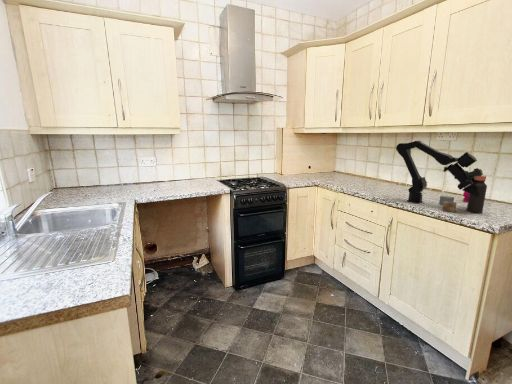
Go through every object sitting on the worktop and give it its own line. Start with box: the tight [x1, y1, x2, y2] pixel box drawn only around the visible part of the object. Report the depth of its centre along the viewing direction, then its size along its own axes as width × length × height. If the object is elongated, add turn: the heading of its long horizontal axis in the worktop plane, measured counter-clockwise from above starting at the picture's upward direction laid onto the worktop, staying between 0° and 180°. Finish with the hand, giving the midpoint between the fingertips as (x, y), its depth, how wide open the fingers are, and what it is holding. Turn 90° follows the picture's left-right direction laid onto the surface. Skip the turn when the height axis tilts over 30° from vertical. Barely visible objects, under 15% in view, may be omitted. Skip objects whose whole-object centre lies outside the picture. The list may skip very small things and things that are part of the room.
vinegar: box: [466, 175, 488, 214], centre depth 144 cm, size 7×7×20 cm
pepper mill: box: [462, 169, 474, 203], centre depth 166 cm, size 7×7×20 cm
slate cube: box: [438, 195, 455, 206], centre depth 161 cm, size 5×5×5 cm
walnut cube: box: [442, 201, 457, 214], centre depth 148 cm, size 5×5×5 cm
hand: (480, 195), depth 143 cm, fingers open, 8 cm apart
